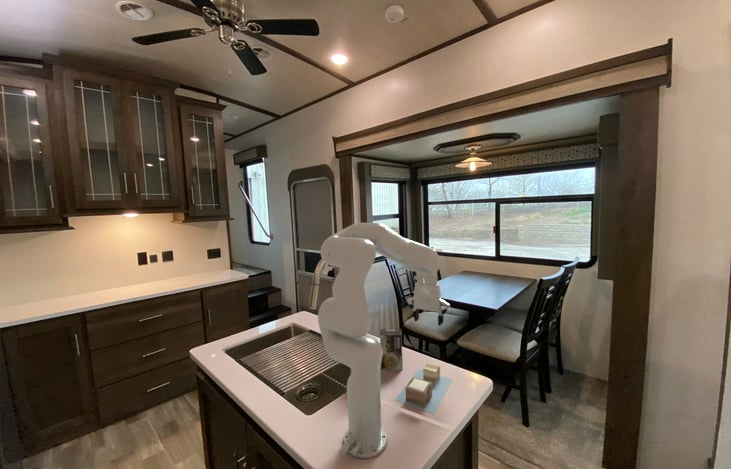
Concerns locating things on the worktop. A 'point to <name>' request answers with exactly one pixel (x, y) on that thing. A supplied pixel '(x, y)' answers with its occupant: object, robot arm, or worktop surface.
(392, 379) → the worktop surface
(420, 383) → the board
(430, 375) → the maple block
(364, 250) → the robot arm
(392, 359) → the coffee box
